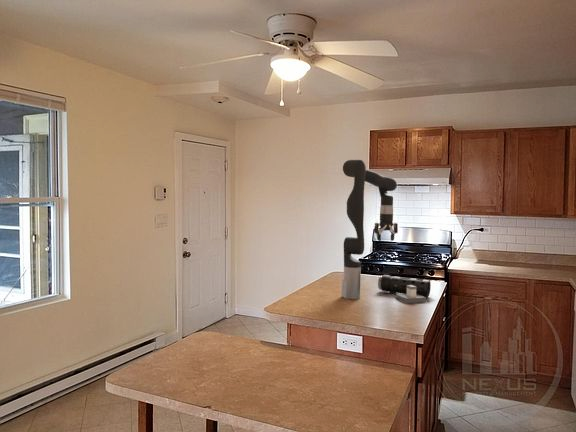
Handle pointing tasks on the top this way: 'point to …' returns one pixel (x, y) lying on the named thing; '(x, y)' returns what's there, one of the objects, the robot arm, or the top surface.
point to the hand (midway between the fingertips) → (385, 240)
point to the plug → (411, 291)
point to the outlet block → (410, 298)
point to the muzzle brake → (403, 285)
